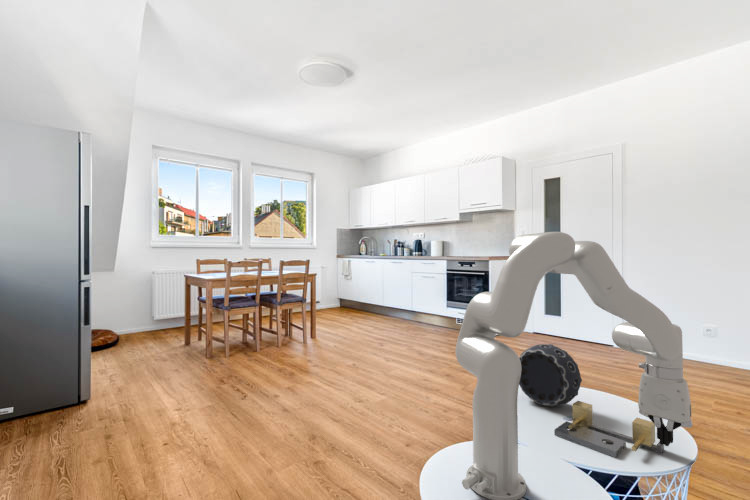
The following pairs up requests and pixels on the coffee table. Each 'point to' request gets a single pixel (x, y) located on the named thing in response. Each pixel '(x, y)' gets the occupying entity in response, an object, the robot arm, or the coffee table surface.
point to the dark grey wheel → (549, 375)
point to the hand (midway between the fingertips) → (665, 443)
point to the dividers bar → (585, 419)
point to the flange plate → (591, 439)
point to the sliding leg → (643, 433)
